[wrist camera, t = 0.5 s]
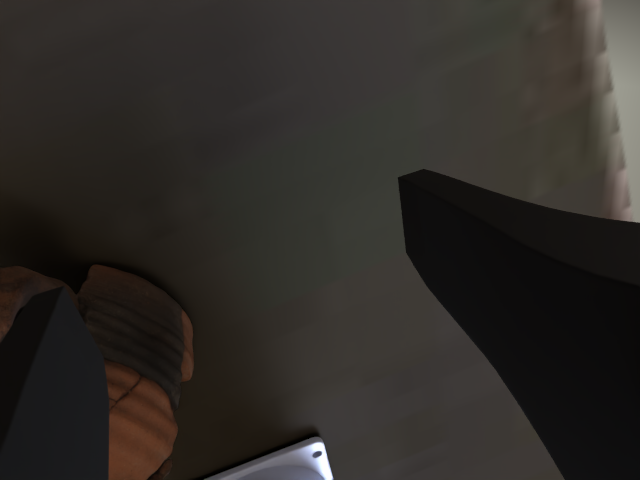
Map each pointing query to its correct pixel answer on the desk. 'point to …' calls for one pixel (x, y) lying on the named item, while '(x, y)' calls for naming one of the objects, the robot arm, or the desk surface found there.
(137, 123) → the desk surface
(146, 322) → the pottery mug
